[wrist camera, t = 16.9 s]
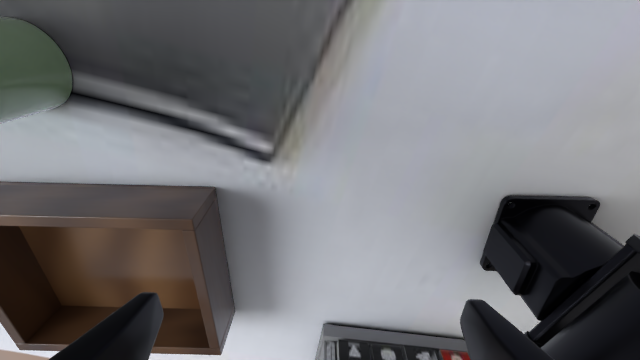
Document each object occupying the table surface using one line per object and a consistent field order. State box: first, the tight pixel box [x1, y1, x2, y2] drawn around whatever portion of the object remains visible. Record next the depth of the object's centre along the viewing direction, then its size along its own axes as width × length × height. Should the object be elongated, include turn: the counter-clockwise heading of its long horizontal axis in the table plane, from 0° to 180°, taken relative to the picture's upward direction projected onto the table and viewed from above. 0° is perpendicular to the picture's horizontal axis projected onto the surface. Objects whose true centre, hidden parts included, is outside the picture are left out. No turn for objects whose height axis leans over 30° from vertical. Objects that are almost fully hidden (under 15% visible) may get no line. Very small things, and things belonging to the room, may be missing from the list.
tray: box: [0, 182, 235, 355], centre depth 22 cm, size 16×13×4 cm
